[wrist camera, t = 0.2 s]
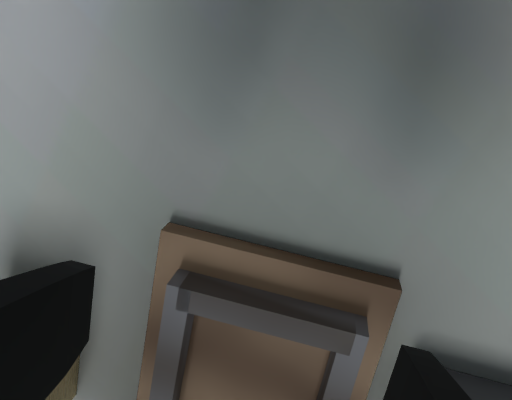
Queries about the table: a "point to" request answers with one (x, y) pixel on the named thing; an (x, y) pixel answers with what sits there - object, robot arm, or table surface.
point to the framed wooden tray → (260, 323)
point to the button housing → (481, 387)
